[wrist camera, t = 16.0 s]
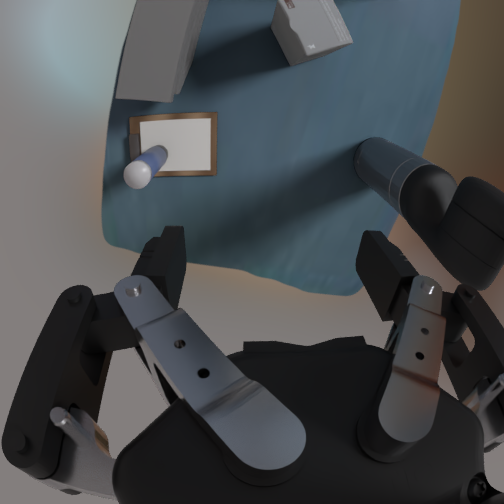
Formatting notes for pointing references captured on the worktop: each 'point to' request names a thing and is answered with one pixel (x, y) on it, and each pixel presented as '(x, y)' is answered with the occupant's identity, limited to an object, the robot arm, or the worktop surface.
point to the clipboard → (135, 121)
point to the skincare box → (309, 29)
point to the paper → (179, 142)
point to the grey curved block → (160, 48)
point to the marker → (145, 167)
